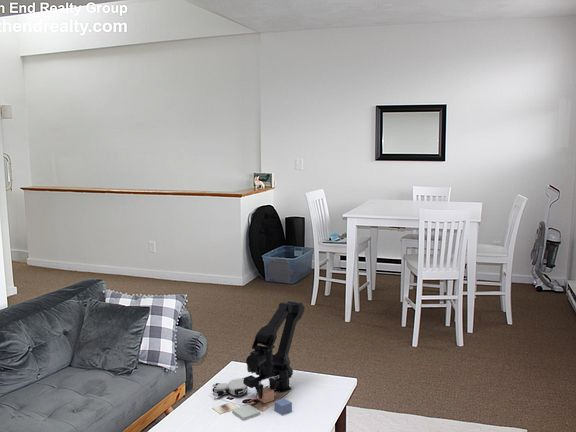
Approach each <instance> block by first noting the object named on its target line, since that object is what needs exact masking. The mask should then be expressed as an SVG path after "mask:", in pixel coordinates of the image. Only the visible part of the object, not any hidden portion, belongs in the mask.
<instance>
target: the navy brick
mask: <svg viewBox="0 0 576 432" xmlns="http://www.w3.org/2000/svg"><path fill="white" fill-rule="evenodd" d="M273 404H274V405H273V407H274V409H273V410H274V411H275V413H277V414H279V415H281V416H284V415H287V414H290V413H291V412H293V402H292V401H290V400H288V399H286V398H280V399H278V400H275V401H274V403H273Z"/></svg>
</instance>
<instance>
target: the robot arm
mask: <svg viewBox="0 0 576 432" xmlns="http://www.w3.org/2000/svg"><path fill="white" fill-rule="evenodd" d="M304 312H305V306H304V304H303V302H299V301H294V300H293V301H292V300H289V301H287V302H279V303H278V307H277V309H276V311H275V312H274V314H273V315H272V317H271V318H270V320H269V321H268V323H267V324H266V325H264V326H262V327H261V328H260V329H259V330H258V331H257V333H256V334H255V337H254V340H253V343H252V346H251V349H252V351H250V353H249V355H248V356H247V357H246V360H245V363H246V366H247V367H246V370H247V372H248V373H251V374H255V375H256V376H254V375H248V376H245V377H243V378H244V379H243V384H245V385H246V386H248V388H250V389H254V388H255V391H256V394H257V393H258V396H259V398H260V399H262V393H263V388H264V384H262V381H265V380H268V382H269V386H268V387H269V388H270V389H272V390H274V391H276V392H278V393H279V394H280V393H284V392H287V391H291V390H292V386H291V387H290V378H292V377H293V374H294V370H293V368H292V367H291V366H290V365H291V360H290V357H289V354H290V353H289V352H290V351H291V346H292V342H293V337H294V333H295V329H296V325H297V323H298V322H299V321H300V320H301V319H302V317H303V315H304ZM283 323H284V325H283ZM282 325H283V330H282V333H281V337H280V340H279V344H278V347H277V352H275V354H273V352H274V351H273V349H274V348H276V346H275V342H276V341H277V338H278V335H277V333H278V330H279V329H280V328H281V327H282Z"/></svg>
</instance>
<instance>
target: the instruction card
mask: <svg viewBox="0 0 576 432" xmlns="http://www.w3.org/2000/svg"><path fill="white" fill-rule="evenodd" d="M237 408H240V407H239V406H238V405H237V404H235V403H233V402H232V401H231V402H226V403H223V404H221V405H218V406H215V407H214V406H213V407H212V410H214V411H215V412H216V413H218V414H219V415H222V414H225V413H228V412H232V410H234V409H237Z"/></svg>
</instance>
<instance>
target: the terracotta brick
mask: <svg viewBox="0 0 576 432" xmlns="http://www.w3.org/2000/svg"><path fill="white" fill-rule="evenodd" d="M256 394H257V395H256V396H257V397H256V398H257V399H256V400H258V401H260V402H262V403H263V404H265V403H268V402H272V401H274V400H275V390H272V389H270V388H269V386H263V393H262V399H260V398H259V396H258V393H257V392H256Z"/></svg>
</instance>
